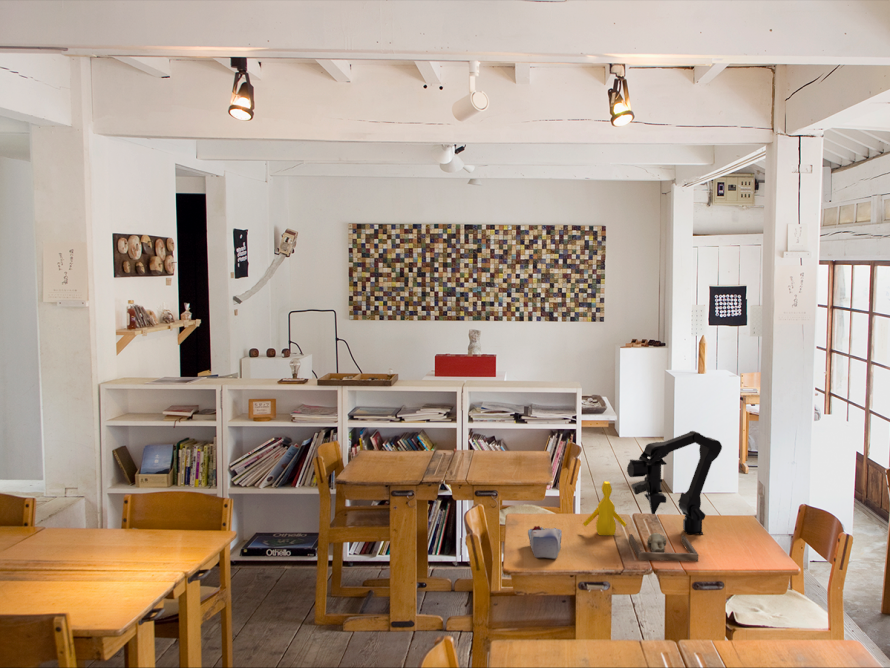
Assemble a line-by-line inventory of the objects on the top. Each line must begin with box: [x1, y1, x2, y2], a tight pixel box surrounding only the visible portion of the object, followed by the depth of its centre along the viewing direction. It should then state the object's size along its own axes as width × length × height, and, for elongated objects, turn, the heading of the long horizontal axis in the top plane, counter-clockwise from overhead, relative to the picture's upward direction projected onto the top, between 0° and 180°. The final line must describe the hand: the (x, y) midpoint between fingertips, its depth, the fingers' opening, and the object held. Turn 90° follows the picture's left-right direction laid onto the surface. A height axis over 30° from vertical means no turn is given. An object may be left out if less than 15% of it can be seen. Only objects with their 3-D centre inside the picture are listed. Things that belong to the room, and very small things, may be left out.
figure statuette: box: [582, 481, 627, 536], centre depth 302 cm, size 18×8×22 cm, turn 88°
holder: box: [628, 533, 699, 562], centre depth 284 cm, size 21×21×2 cm
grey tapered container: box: [527, 525, 563, 560], centre depth 283 cm, size 13×11×20 cm
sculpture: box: [646, 532, 667, 553], centre depth 284 cm, size 7×5×15 cm
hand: (653, 513), depth 301 cm, fingers closed
